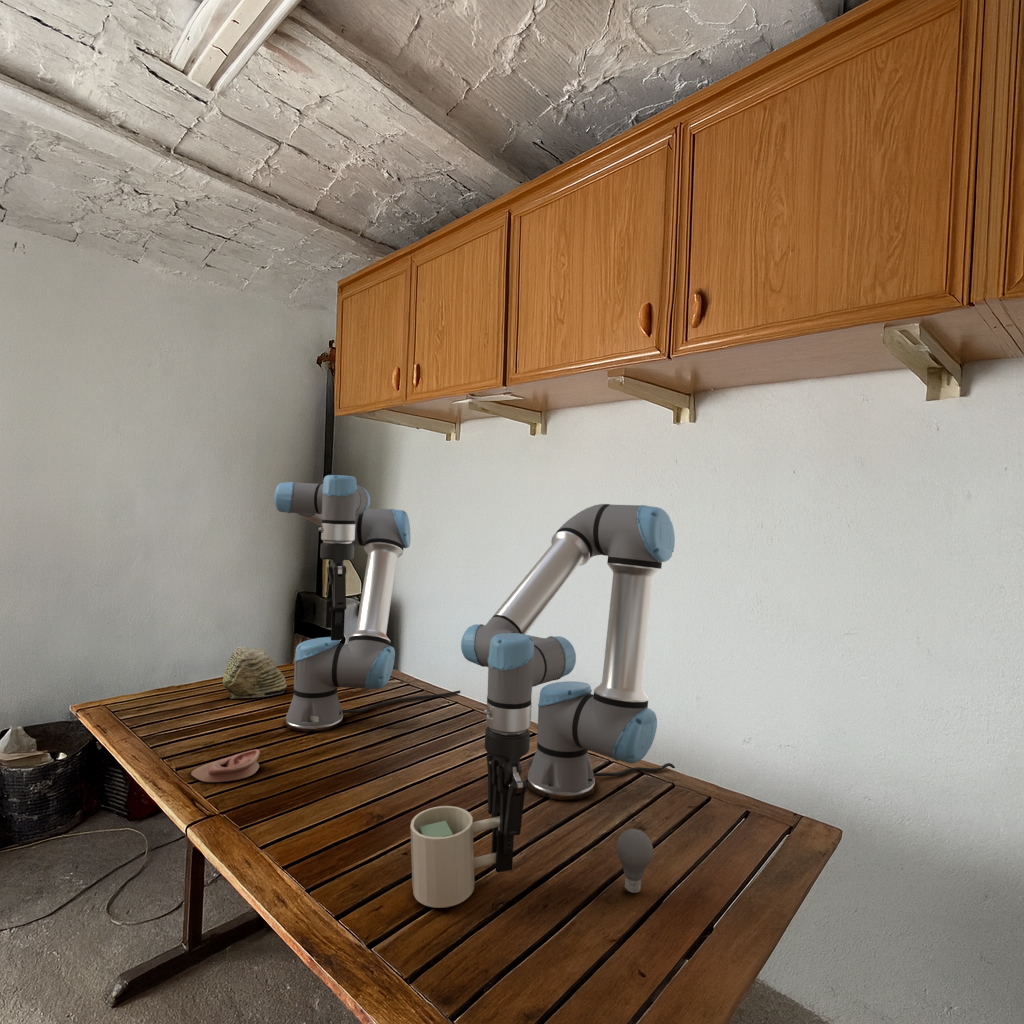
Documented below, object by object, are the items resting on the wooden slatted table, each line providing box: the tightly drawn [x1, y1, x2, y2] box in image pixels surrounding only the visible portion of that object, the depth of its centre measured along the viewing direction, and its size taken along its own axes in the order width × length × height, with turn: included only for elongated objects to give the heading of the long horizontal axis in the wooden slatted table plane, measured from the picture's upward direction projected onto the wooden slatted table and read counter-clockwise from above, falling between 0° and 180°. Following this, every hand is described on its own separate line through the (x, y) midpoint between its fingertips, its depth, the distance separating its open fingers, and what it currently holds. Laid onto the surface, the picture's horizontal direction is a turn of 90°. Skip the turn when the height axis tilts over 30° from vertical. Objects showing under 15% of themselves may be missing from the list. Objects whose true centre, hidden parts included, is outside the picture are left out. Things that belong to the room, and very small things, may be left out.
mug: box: [409, 805, 500, 909], centre depth 104 cm, size 16×10×11 cm, turn 111°
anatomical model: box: [190, 748, 261, 783], centre depth 143 cm, size 13×4×12 cm
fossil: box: [222, 646, 288, 699], centre depth 198 cm, size 9×18×15 cm, turn 132°
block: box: [419, 821, 453, 837], centre depth 103 cm, size 4×4×9 cm
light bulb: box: [615, 828, 654, 894], centre depth 106 cm, size 6×6×10 cm
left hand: (334, 633), depth 147 cm, fingers open, 13 cm apart
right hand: (501, 865), depth 107 cm, fingers closed on mug, 2 cm apart
